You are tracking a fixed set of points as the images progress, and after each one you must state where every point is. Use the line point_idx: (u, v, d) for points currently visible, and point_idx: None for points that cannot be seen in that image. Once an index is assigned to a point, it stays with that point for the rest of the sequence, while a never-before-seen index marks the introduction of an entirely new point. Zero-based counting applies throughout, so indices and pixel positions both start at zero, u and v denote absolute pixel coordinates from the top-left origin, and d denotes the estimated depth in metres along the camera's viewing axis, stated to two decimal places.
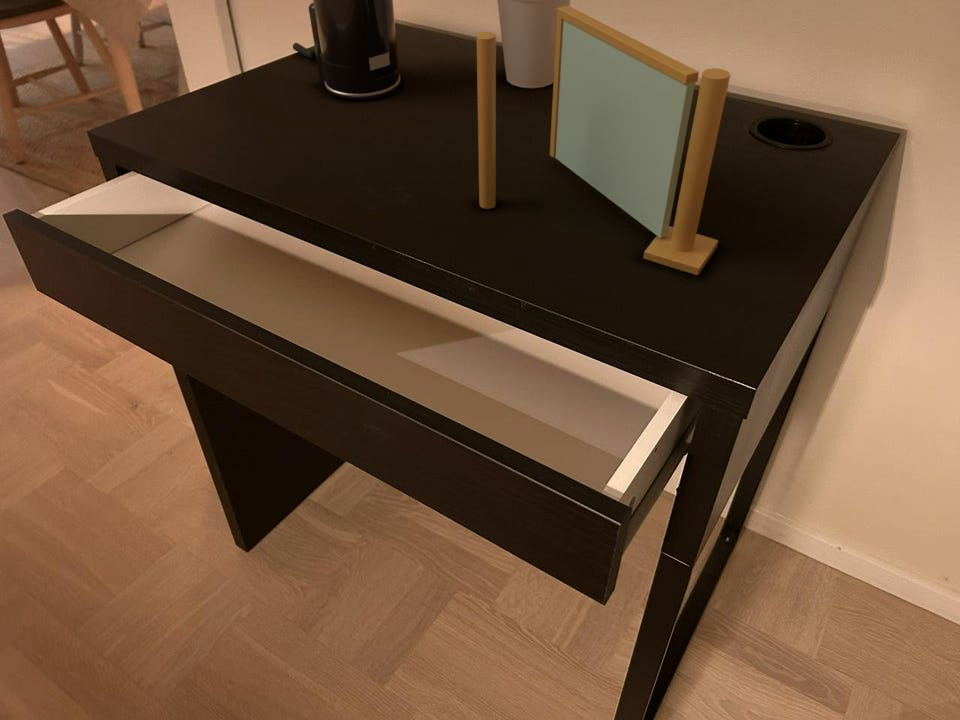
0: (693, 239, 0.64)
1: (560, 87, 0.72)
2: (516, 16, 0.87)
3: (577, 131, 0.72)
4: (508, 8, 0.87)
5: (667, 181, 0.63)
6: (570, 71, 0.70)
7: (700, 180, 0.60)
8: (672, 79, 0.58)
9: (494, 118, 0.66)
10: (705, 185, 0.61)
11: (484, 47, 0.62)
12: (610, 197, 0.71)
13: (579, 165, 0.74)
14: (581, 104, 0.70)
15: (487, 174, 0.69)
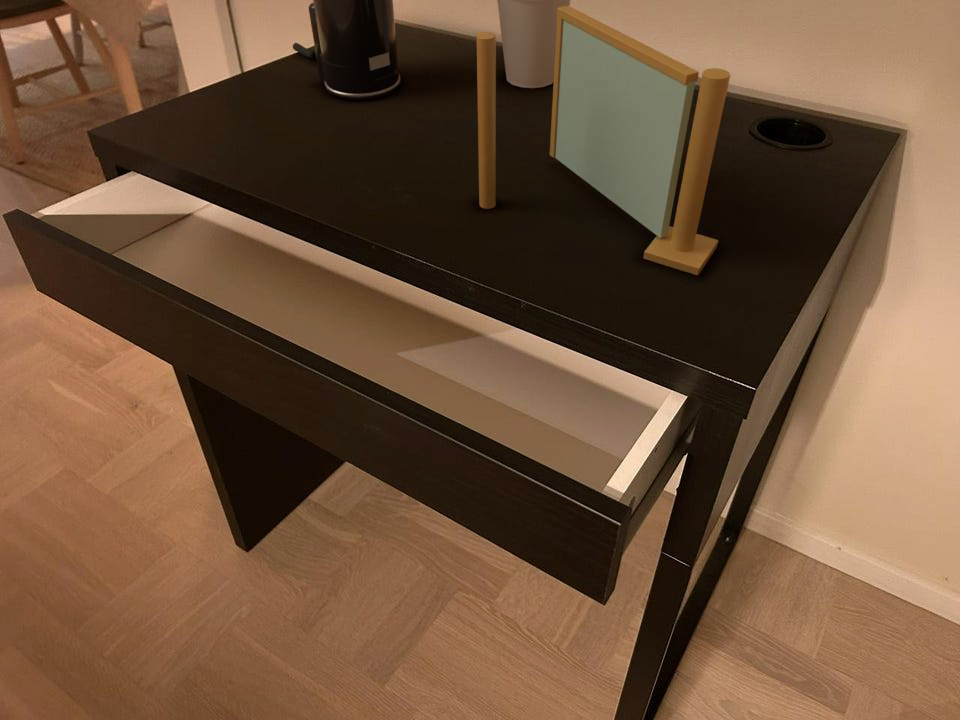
0: (693, 239, 0.64)
1: (560, 87, 0.72)
2: (516, 16, 0.87)
3: (577, 131, 0.72)
4: (508, 8, 0.87)
5: (667, 181, 0.63)
6: (570, 71, 0.70)
7: (700, 180, 0.60)
8: (672, 79, 0.58)
9: (494, 118, 0.66)
10: (705, 185, 0.61)
11: (484, 47, 0.62)
12: (610, 197, 0.71)
13: (579, 165, 0.74)
14: (581, 104, 0.70)
15: (487, 174, 0.69)
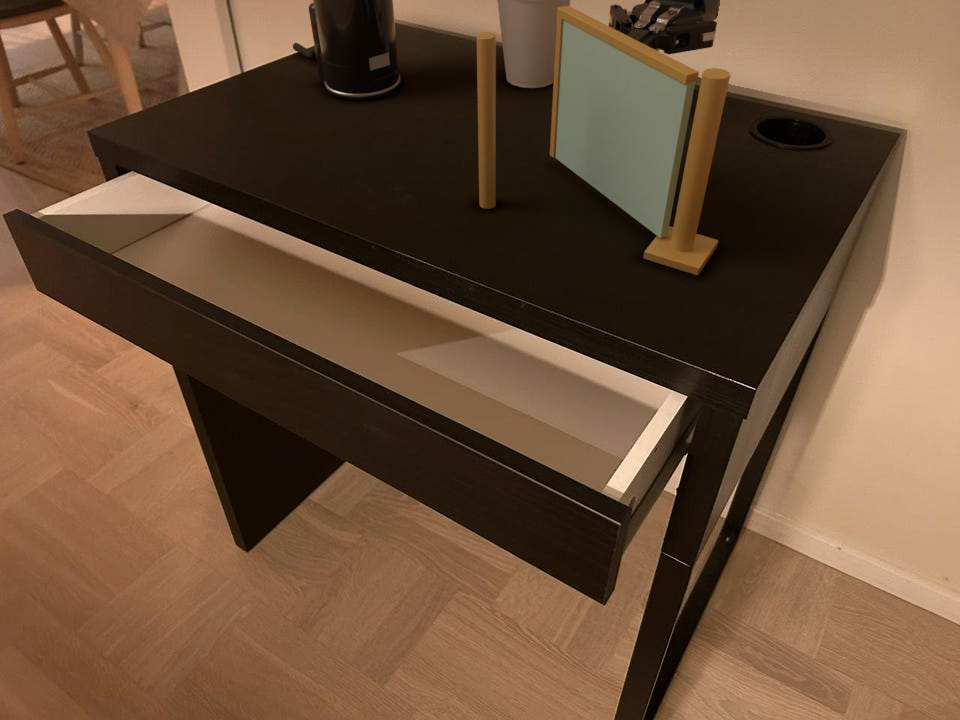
0: (693, 239, 0.64)
1: (560, 87, 0.72)
2: (516, 16, 0.87)
3: (577, 131, 0.72)
4: (508, 8, 0.87)
5: (667, 181, 0.63)
6: (570, 71, 0.70)
7: (700, 180, 0.60)
8: (672, 79, 0.58)
9: (494, 118, 0.66)
10: (705, 185, 0.61)
11: (484, 47, 0.62)
12: (610, 197, 0.71)
13: (579, 165, 0.74)
14: (581, 104, 0.70)
15: (487, 174, 0.69)
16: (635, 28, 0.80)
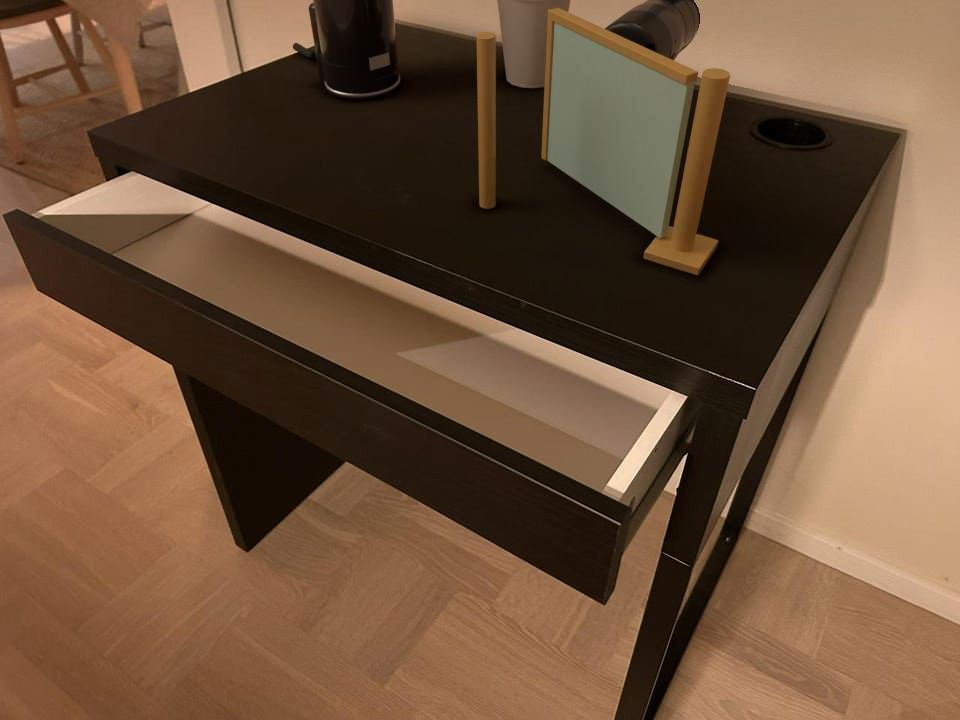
0: (693, 239, 0.64)
1: (552, 89, 0.72)
2: (516, 16, 0.87)
3: (570, 133, 0.72)
4: (508, 8, 0.87)
5: (667, 182, 0.63)
6: (562, 73, 0.69)
7: (700, 180, 0.60)
8: (671, 79, 0.58)
9: (494, 118, 0.66)
10: (705, 185, 0.61)
11: (484, 47, 0.62)
12: (606, 198, 0.71)
13: (573, 167, 0.73)
14: (574, 106, 0.70)
15: (487, 174, 0.69)
16: None
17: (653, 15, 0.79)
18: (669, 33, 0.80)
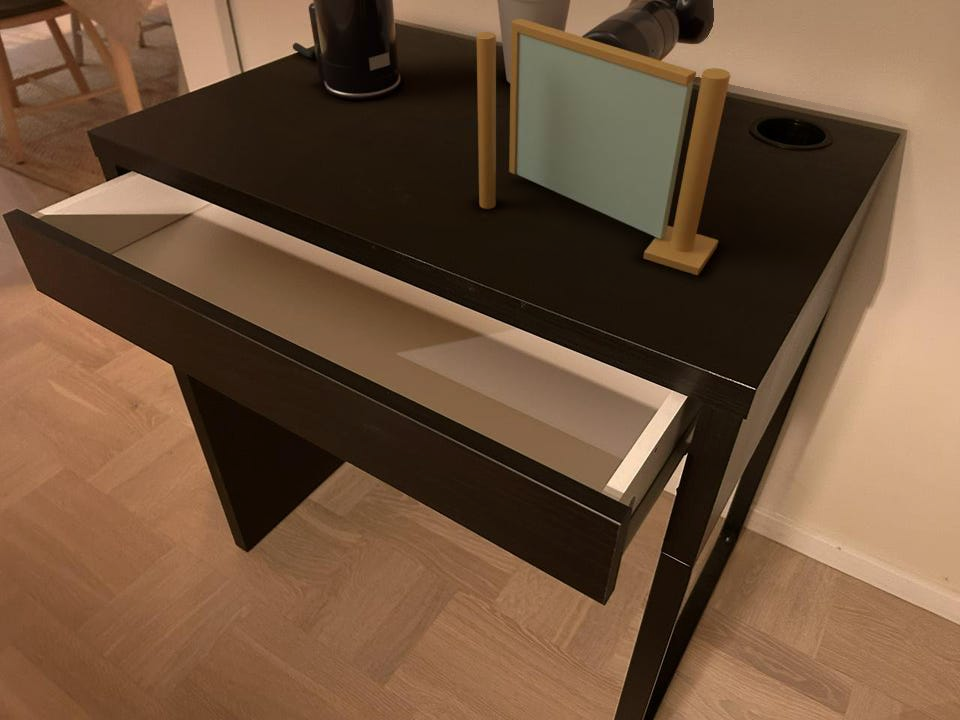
0: (693, 239, 0.64)
1: (519, 102, 0.70)
2: (516, 16, 0.87)
3: (545, 144, 0.70)
4: (508, 8, 0.87)
5: (666, 183, 0.62)
6: (532, 84, 0.68)
7: (700, 180, 0.60)
8: (668, 82, 0.58)
9: (494, 118, 0.66)
10: (705, 185, 0.61)
11: (484, 47, 0.62)
12: (593, 206, 0.70)
13: (549, 178, 0.72)
14: (548, 116, 0.68)
15: (487, 174, 0.69)
16: None
17: (630, 24, 0.77)
18: (646, 43, 0.78)
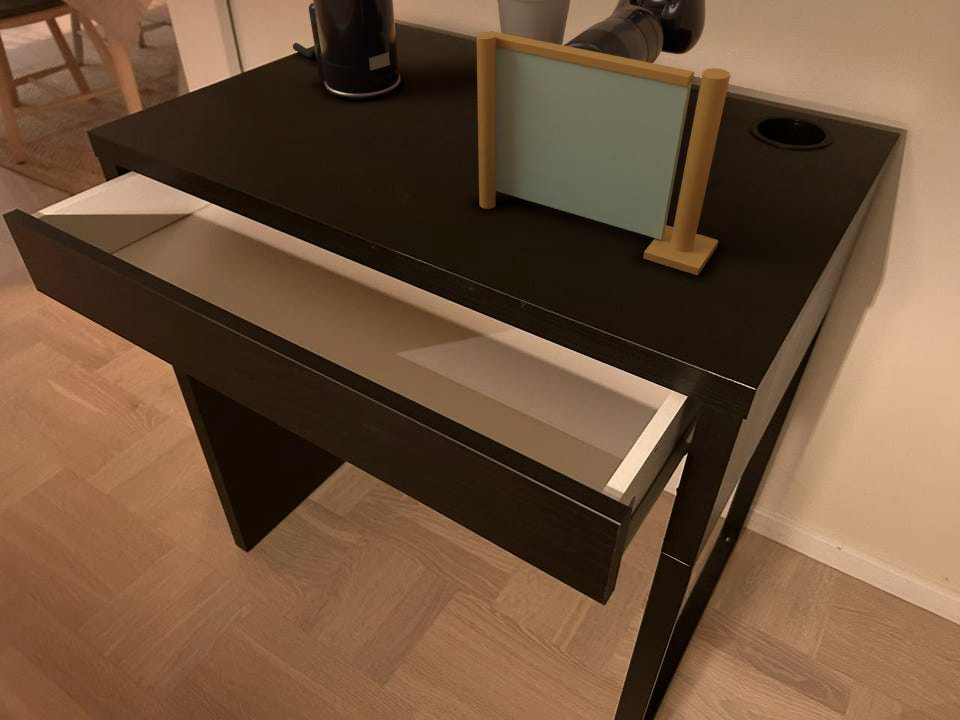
0: (693, 239, 0.64)
1: None
2: (516, 16, 0.87)
3: (526, 157, 0.68)
4: (508, 8, 0.87)
5: (667, 184, 0.62)
6: (510, 98, 0.66)
7: (700, 180, 0.60)
8: (666, 84, 0.57)
9: (494, 118, 0.66)
10: (705, 185, 0.61)
11: (484, 47, 0.62)
12: (584, 214, 0.69)
13: (533, 191, 0.70)
14: (530, 129, 0.66)
15: (487, 174, 0.69)
16: None
17: (611, 34, 0.75)
18: (628, 53, 0.76)
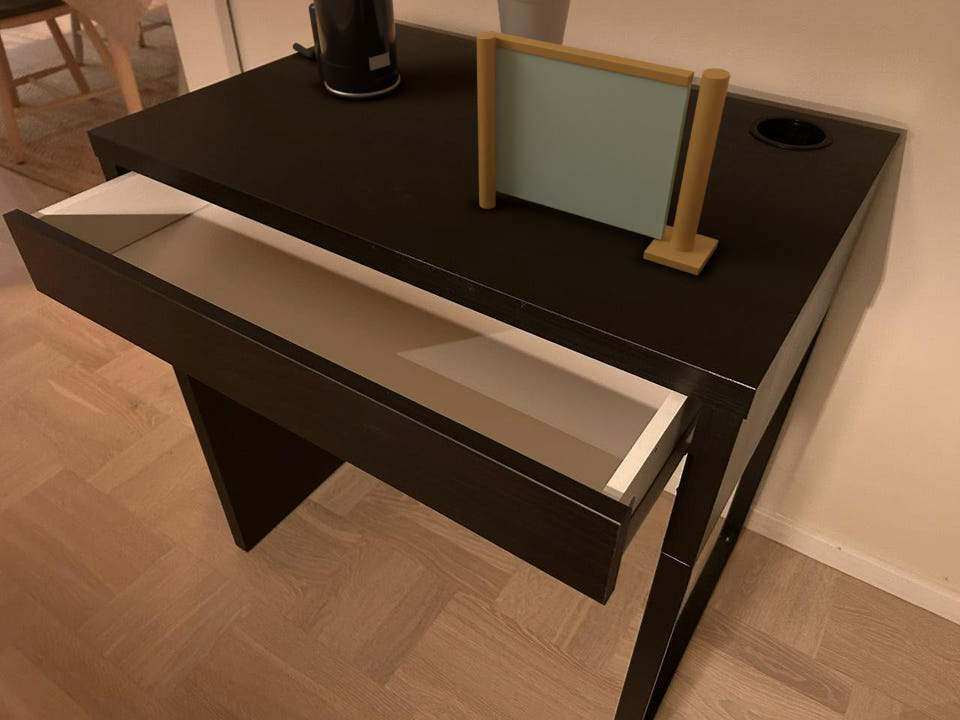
0: (693, 239, 0.64)
1: None
2: (516, 16, 0.87)
3: (526, 157, 0.68)
4: (508, 8, 0.87)
5: (667, 184, 0.62)
6: (510, 98, 0.66)
7: (700, 180, 0.60)
8: (666, 84, 0.57)
9: (494, 118, 0.66)
10: (705, 185, 0.61)
11: (484, 47, 0.62)
12: (584, 214, 0.69)
13: (533, 191, 0.70)
14: (530, 129, 0.66)
15: (487, 174, 0.69)
16: None
17: None
18: None
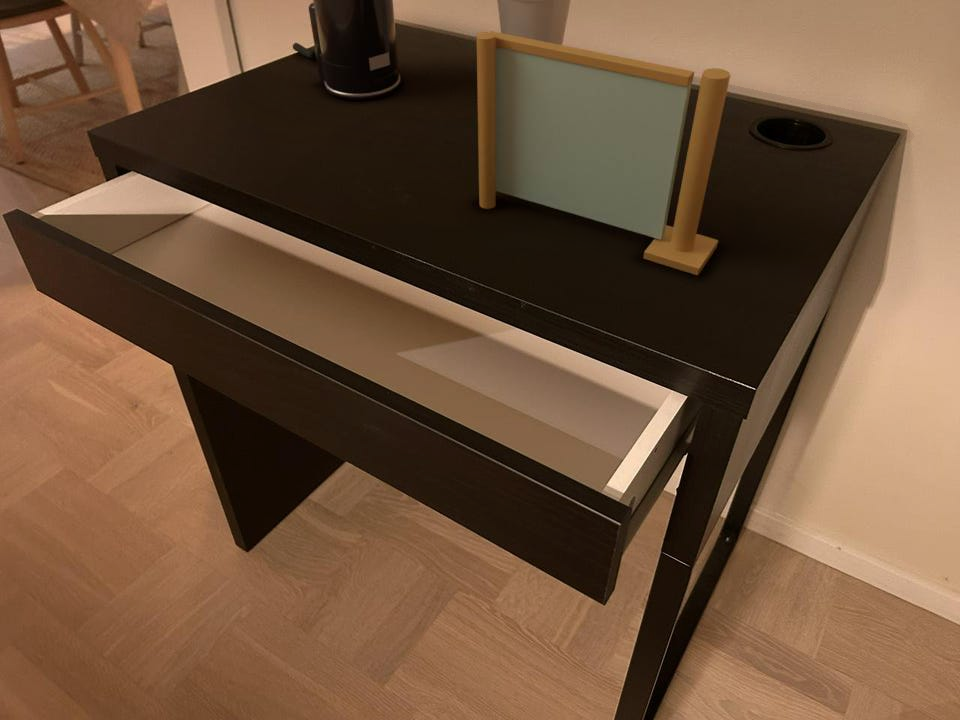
0: (693, 239, 0.64)
1: None
2: (516, 16, 0.87)
3: (526, 157, 0.68)
4: (508, 8, 0.87)
5: (667, 184, 0.62)
6: (510, 98, 0.66)
7: (700, 180, 0.60)
8: (666, 84, 0.57)
9: (494, 118, 0.66)
10: (705, 185, 0.61)
11: (484, 47, 0.62)
12: (584, 214, 0.69)
13: (533, 191, 0.70)
14: (530, 129, 0.66)
15: (487, 174, 0.69)
16: None
17: None
18: None
